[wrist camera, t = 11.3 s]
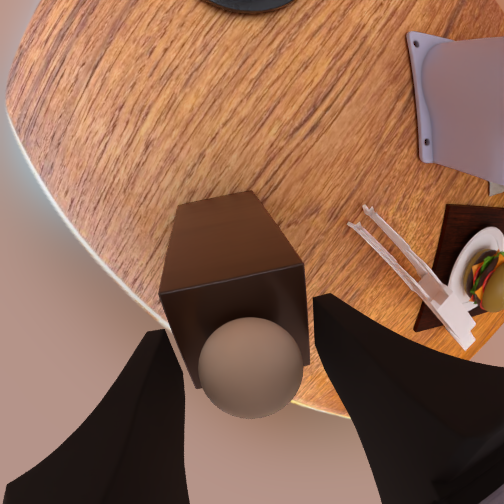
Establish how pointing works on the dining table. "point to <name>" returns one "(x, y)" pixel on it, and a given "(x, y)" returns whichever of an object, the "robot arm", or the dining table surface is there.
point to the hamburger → (469, 261)
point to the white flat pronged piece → (423, 283)
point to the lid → (250, 5)
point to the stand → (230, 274)
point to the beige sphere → (250, 368)
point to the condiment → (495, 188)
